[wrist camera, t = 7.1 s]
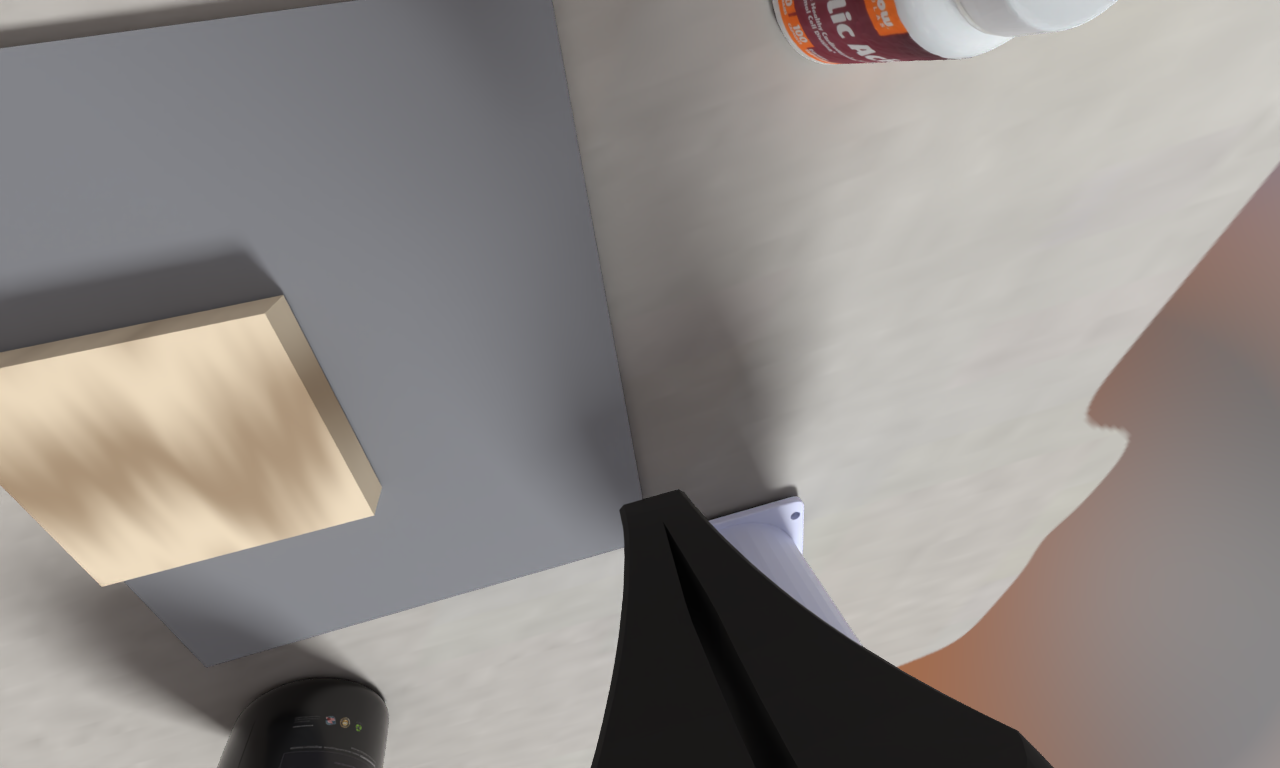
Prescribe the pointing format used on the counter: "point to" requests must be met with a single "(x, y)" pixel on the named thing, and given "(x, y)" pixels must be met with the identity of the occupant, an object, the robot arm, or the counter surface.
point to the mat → (342, 278)
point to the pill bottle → (920, 26)
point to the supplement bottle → (310, 728)
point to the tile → (179, 440)
